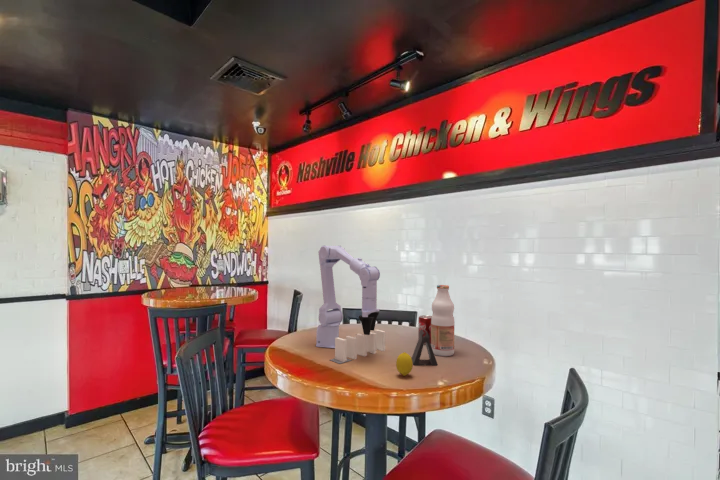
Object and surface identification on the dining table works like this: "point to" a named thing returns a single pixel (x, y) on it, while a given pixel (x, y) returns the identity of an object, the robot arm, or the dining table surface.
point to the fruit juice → (442, 323)
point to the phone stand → (418, 351)
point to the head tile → (380, 340)
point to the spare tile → (341, 349)
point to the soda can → (424, 325)
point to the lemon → (404, 363)
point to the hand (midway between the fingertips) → (369, 332)
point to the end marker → (339, 361)
